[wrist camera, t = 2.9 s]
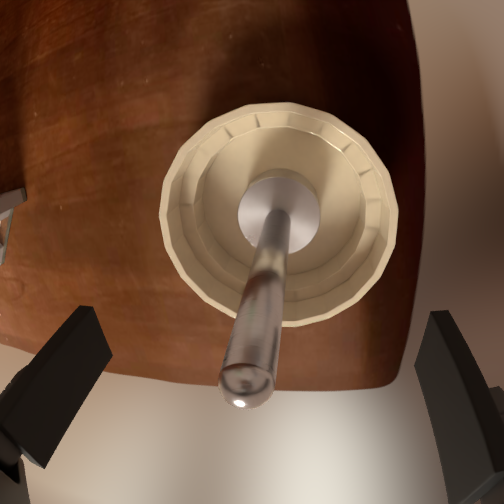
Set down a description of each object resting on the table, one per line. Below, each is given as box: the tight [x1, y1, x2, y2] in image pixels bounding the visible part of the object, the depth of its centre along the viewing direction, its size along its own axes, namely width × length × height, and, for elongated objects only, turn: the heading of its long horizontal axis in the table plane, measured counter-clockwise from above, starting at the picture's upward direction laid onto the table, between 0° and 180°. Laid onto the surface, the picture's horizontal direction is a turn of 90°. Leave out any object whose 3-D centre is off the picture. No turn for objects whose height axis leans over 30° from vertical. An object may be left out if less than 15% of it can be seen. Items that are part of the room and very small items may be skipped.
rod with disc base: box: [218, 169, 320, 410], centre depth 17 cm, size 6×6×19 cm
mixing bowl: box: [159, 102, 398, 327], centre depth 24 cm, size 16×16×6 cm
